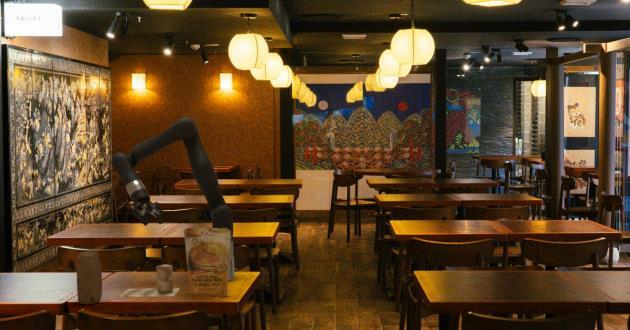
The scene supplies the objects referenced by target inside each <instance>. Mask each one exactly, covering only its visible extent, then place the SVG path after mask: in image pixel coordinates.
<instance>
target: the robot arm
mask: <svg viewBox="0 0 630 330" xmlns="http://www.w3.org/2000/svg"><path fill="white" fill-rule="evenodd" d="M180 141H181V142H182V143H183V145H184V147H185V149H186V152H187V157H188V161H189V166H190V169H191V172H192V174H193V176H194V179H195V181H196V183H197V185H198V188H199V189H200V191H201V193H202V194H203V197H204V198H205V200H206V204H207V206H208V210H209V213H210V217H211V221H212V222H211V228H228V230H231V256H230V266H229V277H228V282H229V281H233V280H234V279H235V256H234V214H233V211H232V210H231V209H230V207H229V206H228V204H227V202H226V200H225V198H224V196H223V195H222V192H221V189H220V185H219V184H220V183H219V179H218V176H217V174H216V170H215V169H214V166H213V164H212V161H211V160H210V157H209V154H208V153H207V151H206V149H205V147H204V145H203V143H202V140H201V138H200V135H199V129H198V127H197V124H196V121H194V119H192V118H191V117H188V116H184V117H181V118H179V119H178V120H177V121H176V122H174V123H173V124H172V125H171V126H170V127H169V128H167V129H166V130H164V131H162V132H161V133H159V134H157V135H154V136H152V137H149V138H148V139H145V140H143V141H142V142H140V143H138V144H137V145H135V146H133V147H132V148H131V152H130V153H129V154H125V153H123V152H116V153H114V154H113V155H112V157H111V165H112V167H113V168H114V170H115V171H116V173H117V175H118V176H119V178H121V181H122V183H123V185H124V187H125V190H126V192H127V194H128V195H129V198H130V199H131V202H132V205H131V206H130V209H131V211H132V213H133V215H134V218H135V219H137V218H138V219H140V221H141V223H142V225H143V226H144V227H146V226H148V224H149V221H148V218H147V217H146V216H145V215H146V214H150V215H152V216H153V217H155V220H157V223H158V225H162V224H163V223H164V219H163V217H162V214H163V213H164V210H163V209H162V208H161V205H159V203H158V202H157V201H155V202H152V200H151V196H150V194H149V192H148V190H147V188H146V186H145V185H144V183H143V182H142V180H141V178H140V176H139V174H138V173H137V172H136V171H135V169H134V168H135V167H136V166H138V165H139V164H140V163H141V162H143V161H144V160H147V158H150V157H152V156H154V155H155V154H157V153H158V152H160V151H162V150H163V149H165V148H167V147H168V146H170V145H172V144H175V143H177V142H180Z"/></svg>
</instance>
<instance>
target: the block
mask: <svg viewBox="0 0 630 330" xmlns="http://www.w3.org/2000/svg"><path fill="white" fill-rule="evenodd" d="M76 261H77V263H76V292H77V293H76V294H77V302H78V303H79V304H81V305H93V304H98V303H99V302H100V300H101V297H102V296H103V295H102V294H103V274H102V265H101V264H102V263H101V260H100V254H99V251H97V250H95V251H94V250H92V251H91V250H90V251H84V252H81V253H79V254H78V255H77V257H76Z"/></svg>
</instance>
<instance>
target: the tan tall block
mask: <svg viewBox="0 0 630 330" xmlns="http://www.w3.org/2000/svg"><path fill="white" fill-rule="evenodd" d="M173 271H174V270H173V265H172V264H171V265H170V264H161V265H157V266H156V288H157V293H160V294H168V293H172V292H173V288H174V279H173V278H174V276H173Z"/></svg>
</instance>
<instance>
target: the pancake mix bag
mask: <svg viewBox="0 0 630 330" xmlns="http://www.w3.org/2000/svg"><path fill="white" fill-rule="evenodd" d="M183 234H184V236H183V237H184V244H185V258H186V264H187V265H186V266H187V277H188V294H192V295H200V296H201V295H205V296H206V295H211V296H210V297H223V298H226V297H229V292H228V284H229V281H228V277H229V266H230V256H231V230H228V228H212V227H187V228H185V229H183Z"/></svg>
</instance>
